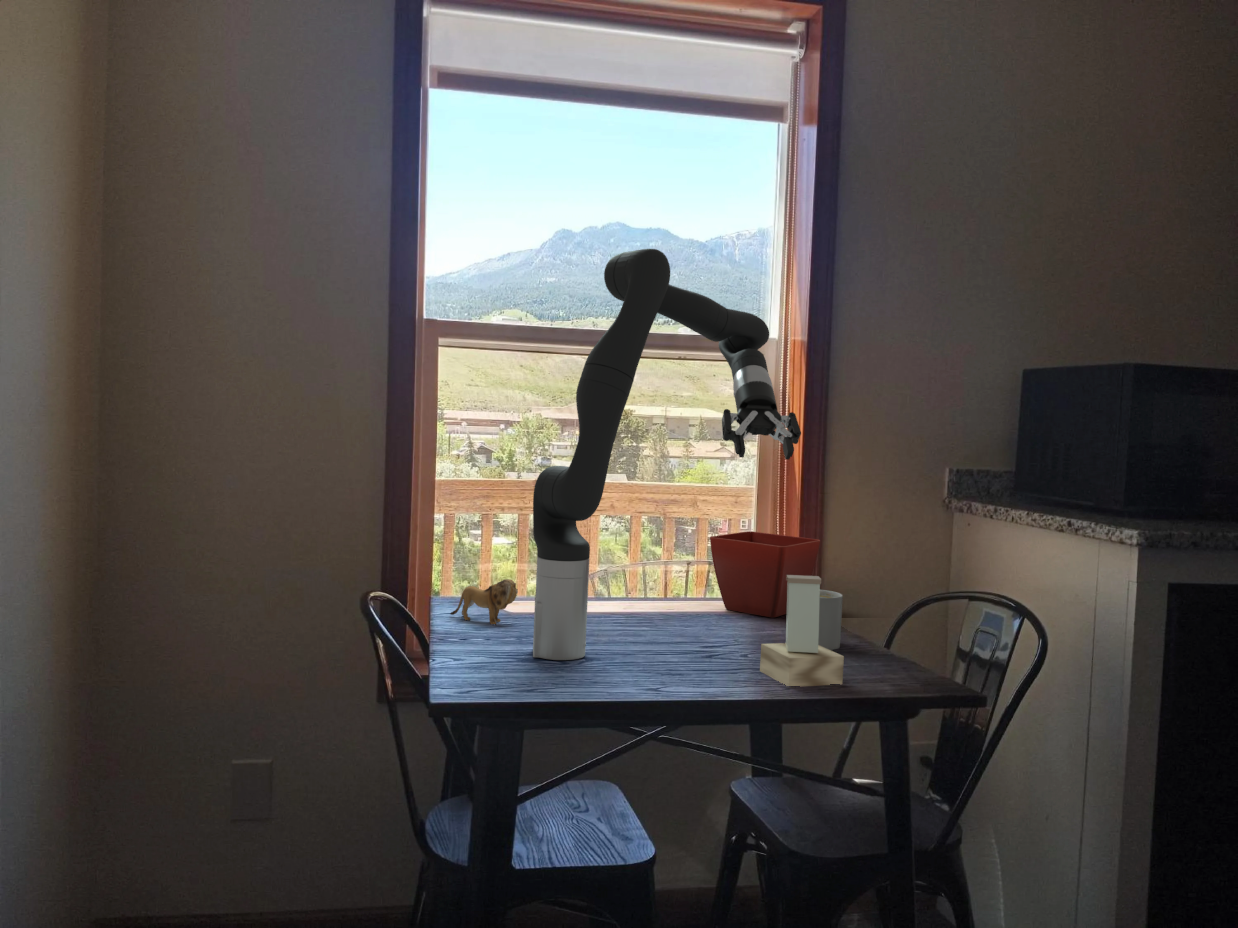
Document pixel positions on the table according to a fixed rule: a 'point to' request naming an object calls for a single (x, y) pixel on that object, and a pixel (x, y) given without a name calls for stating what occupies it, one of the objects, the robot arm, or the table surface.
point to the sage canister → (802, 613)
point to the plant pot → (760, 569)
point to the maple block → (801, 666)
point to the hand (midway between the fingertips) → (765, 455)
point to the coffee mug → (830, 619)
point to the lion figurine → (489, 598)
